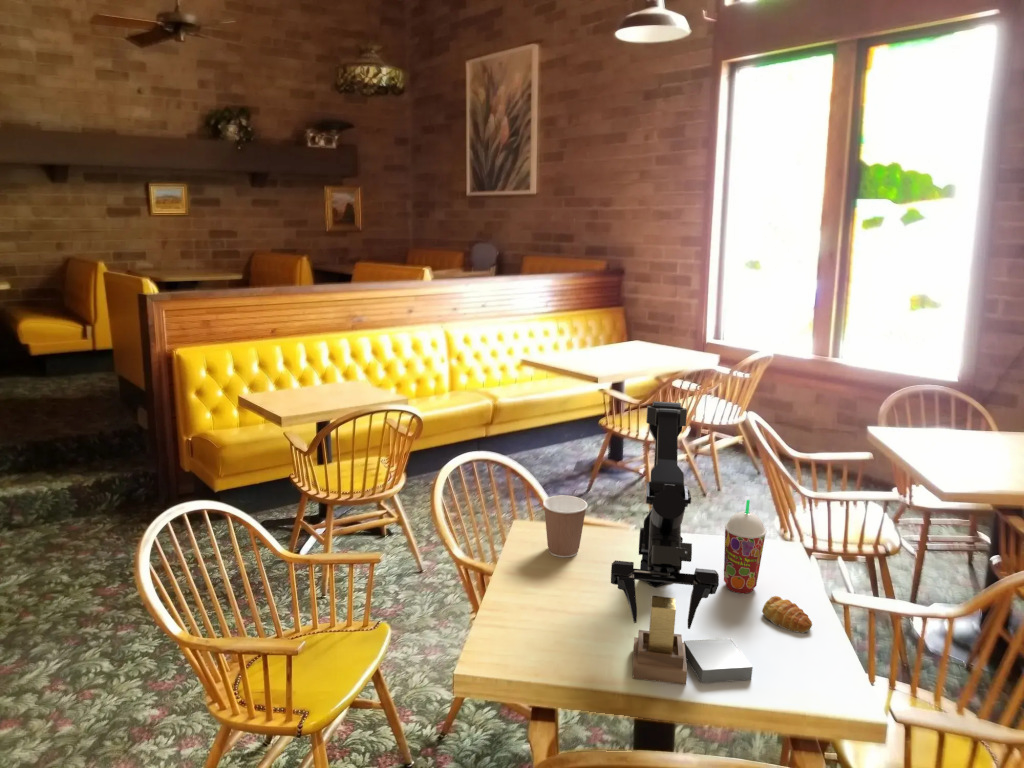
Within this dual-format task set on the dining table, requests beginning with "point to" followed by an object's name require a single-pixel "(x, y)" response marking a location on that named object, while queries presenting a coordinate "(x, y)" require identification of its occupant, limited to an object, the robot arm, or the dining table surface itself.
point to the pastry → (786, 615)
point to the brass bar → (662, 625)
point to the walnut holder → (659, 661)
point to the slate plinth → (717, 660)
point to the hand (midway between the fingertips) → (662, 625)
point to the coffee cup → (564, 524)
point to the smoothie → (743, 551)
